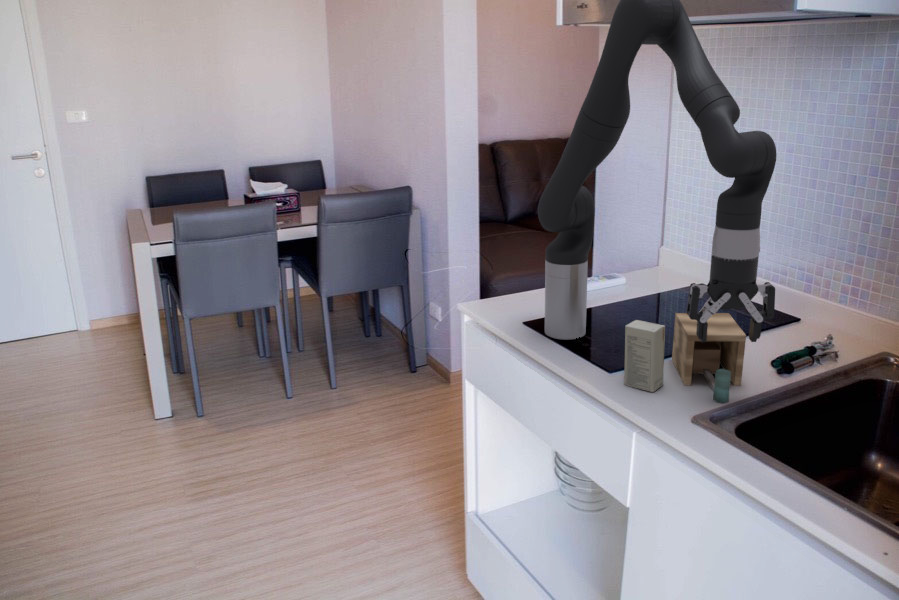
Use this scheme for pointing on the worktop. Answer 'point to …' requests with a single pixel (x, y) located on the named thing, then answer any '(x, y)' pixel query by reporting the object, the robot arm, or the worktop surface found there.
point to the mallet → (712, 369)
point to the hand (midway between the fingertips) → (727, 340)
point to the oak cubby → (718, 330)
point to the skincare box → (644, 355)
